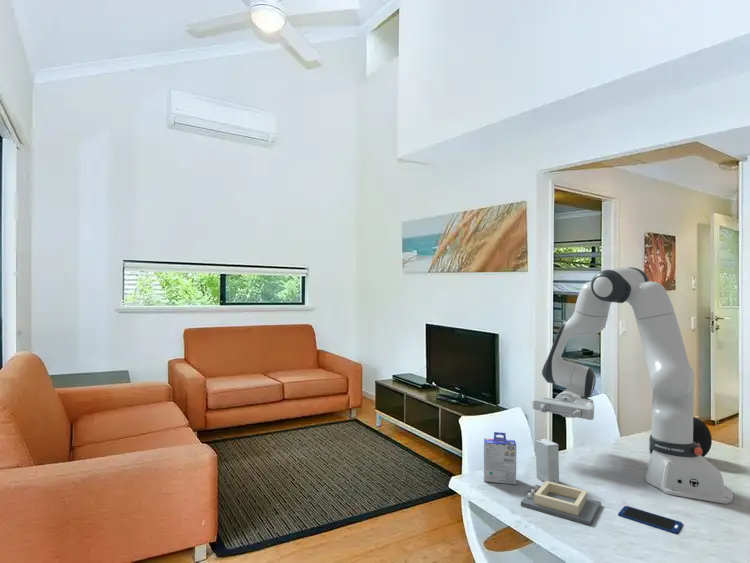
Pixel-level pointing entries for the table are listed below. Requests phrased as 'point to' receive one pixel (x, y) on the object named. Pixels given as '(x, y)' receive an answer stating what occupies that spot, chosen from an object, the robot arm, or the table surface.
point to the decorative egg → (701, 435)
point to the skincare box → (547, 461)
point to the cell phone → (651, 519)
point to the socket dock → (562, 502)
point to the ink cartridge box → (500, 460)
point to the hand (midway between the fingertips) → (557, 412)
